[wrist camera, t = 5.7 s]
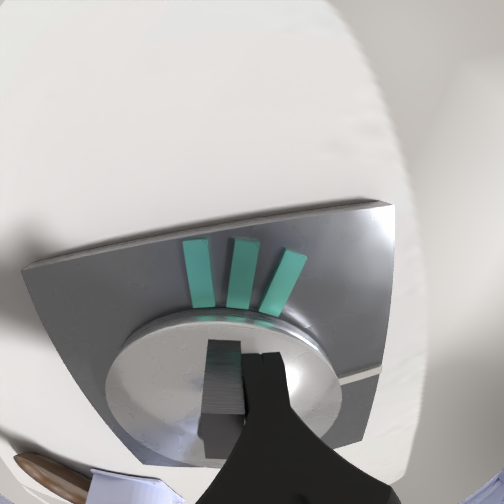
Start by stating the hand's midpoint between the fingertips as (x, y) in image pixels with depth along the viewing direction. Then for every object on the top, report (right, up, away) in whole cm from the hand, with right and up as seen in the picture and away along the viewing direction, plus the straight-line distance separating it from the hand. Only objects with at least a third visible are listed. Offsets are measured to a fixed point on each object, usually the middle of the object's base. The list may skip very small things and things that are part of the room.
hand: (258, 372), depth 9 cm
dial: (-2, -4, +3) cm, 5 cm away
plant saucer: (-28, -31, +13) cm, 44 cm away
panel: (-2, -3, +5) cm, 6 cm away
